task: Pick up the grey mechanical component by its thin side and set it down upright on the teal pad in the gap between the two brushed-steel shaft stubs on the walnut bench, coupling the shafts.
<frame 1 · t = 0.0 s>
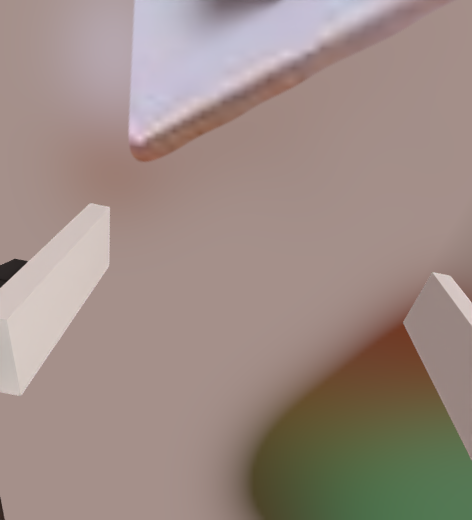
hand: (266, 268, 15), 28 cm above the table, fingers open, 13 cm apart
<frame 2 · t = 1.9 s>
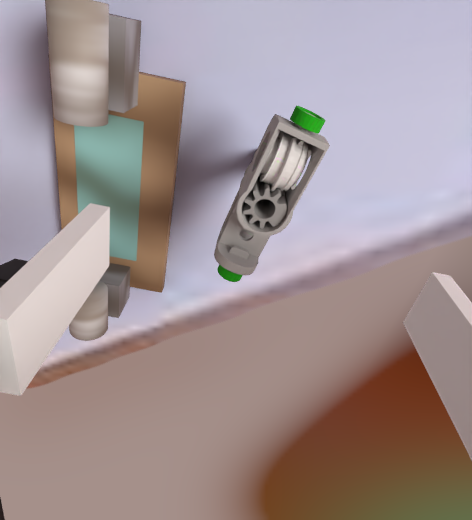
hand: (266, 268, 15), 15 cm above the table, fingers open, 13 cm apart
shaft bench: (119, 189, 30), on the table
mechanical component: (263, 156, 28), on the table
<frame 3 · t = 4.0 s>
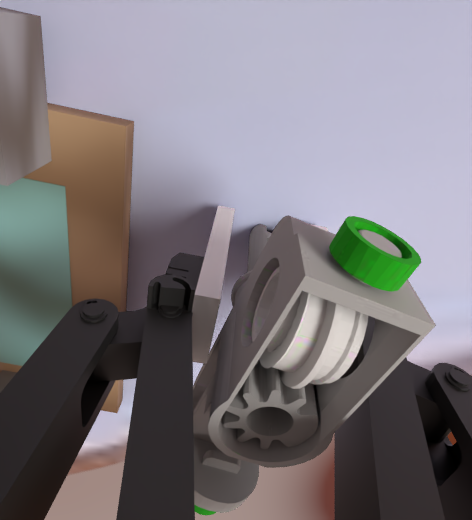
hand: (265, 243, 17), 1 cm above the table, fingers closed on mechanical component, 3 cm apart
shaft bench: (42, 278, 19), on the table
mechanical component: (266, 235, 17), on the table, touching gripper
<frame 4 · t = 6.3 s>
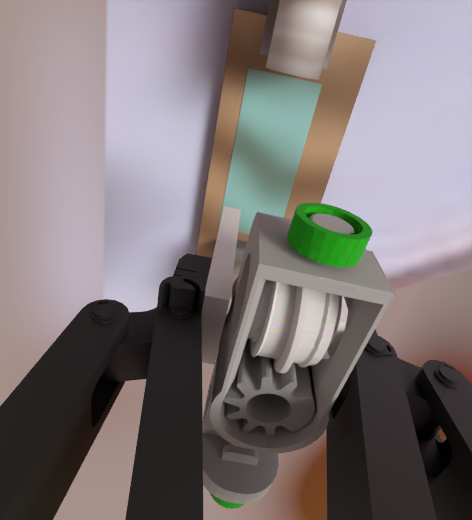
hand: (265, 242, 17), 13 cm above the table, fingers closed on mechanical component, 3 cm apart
shaft bench: (270, 161, 28), on the table
mechanical component: (265, 235, 18), point 12 cm above the table, touching gripper
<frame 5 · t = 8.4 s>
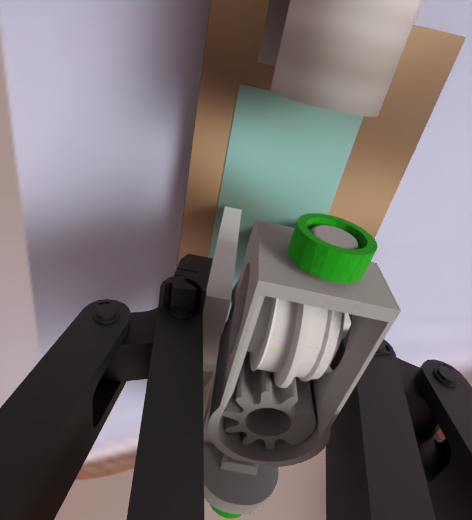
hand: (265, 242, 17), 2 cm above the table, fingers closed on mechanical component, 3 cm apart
shaft bench: (276, 225, 18), on the table
mechanical component: (265, 236, 17), point 1 cm above the table, touching gripper, shaft bench
when the fingers open (2 cm above the table, at t = 8.4 s): mechanical component stays where it is, resting on shaft bench.
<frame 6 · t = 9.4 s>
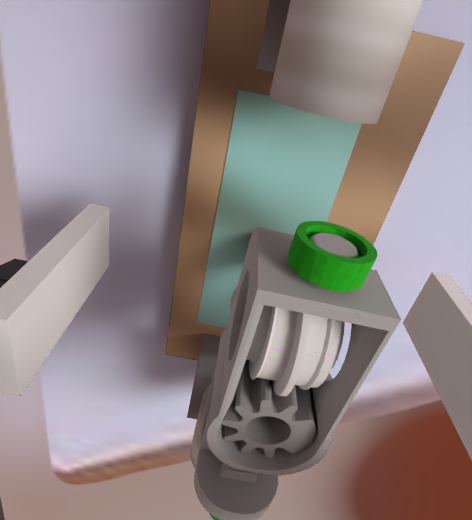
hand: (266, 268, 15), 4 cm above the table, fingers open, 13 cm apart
shaft bench: (275, 229, 18), on the table
mechanical component: (264, 241, 17), point 1 cm above the table, touching shaft bench
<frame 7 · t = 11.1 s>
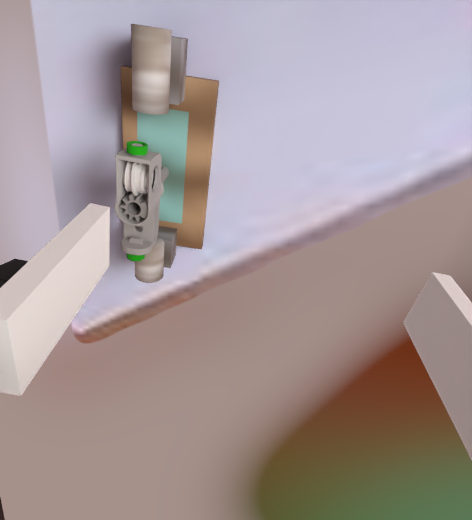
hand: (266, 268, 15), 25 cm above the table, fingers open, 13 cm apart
shaft bench: (168, 166, 39), on the table
mechanical component: (162, 171, 38), point 1 cm above the table, touching shaft bench
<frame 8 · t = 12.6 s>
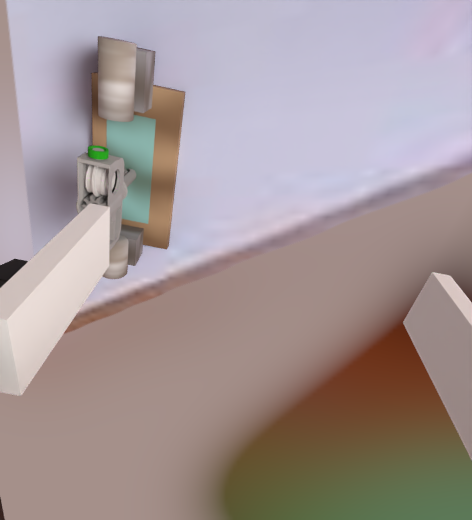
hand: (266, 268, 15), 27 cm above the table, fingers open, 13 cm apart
shaft bench: (136, 169, 41), on the table
mechanical component: (129, 173, 40), point 1 cm above the table, touching shaft bench
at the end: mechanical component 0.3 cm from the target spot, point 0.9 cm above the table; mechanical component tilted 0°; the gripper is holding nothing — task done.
